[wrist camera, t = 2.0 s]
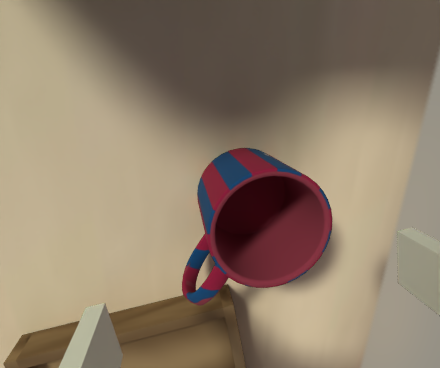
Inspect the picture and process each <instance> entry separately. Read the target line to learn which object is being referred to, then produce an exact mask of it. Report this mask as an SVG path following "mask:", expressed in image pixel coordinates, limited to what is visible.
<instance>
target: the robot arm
mask: <svg viewBox="0 0 440 368" xmlns="http://www.w3.org/2000/svg"><path fill="white" fill-rule="evenodd" d="M397 246H398V247H397V256H398V283H399V284H400V285H401V286H402V287H404V288H405V289H406V290H407V291H409V292H410V293H411V294H412V295H414V296H415V297H416V298H418V299H419V300H420V301H421V302H423V303H424V304H425V305H426V306H428V307H429V308H430V309H432V310H433V311H434V312H436V313H437V314H438V315H439V316H440V241H439V240H437V239H435V238H433V237H431V236H429V235H427V234H424V233H423V232H421V231H419V230H417V229H415V228H413V227H412V228H408V229H404V230H400V231H397ZM122 358H123V354H122V351H121V348H120V345H119V342H118V339H117V336H116V333H115V330H114V327H113V325H112V322H111V319H110V316H109V313H108V310H107V307H106V304H105V303H102V304H98V305H94V306H89V307H86V309H85V311H84V313H83V315H82V317H81V320H80V322H79V324H78V326H77V328H76V331H75V333H74V335H73V337H72V339H71V342H70V344H69V346H68V348H67V350H66V352H65V355H64V357H63V359H62V361H61V363H60V366H59V368H120V367H121V362H122Z"/></svg>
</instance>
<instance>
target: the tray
mask: <svg viewBox="0 0 440 368" xmlns="http://www.w3.org/2000/svg"><path fill="white" fill-rule="evenodd" d="M109 316H110V319H111V322H112V325H113V327H114V330H115V333H116V336H117V339H118V342H119V345H120V348H121V351H122V354H123V358H122V362H121V367H120V368H246V365H245V360H244V355H243V350H242V345H241V340H240V335H239V330H238V325H237V319H236V314H235V309H234V305H233V301H232V297H231V294H230V290H229V287H228V285H223V287H222V288H221V290H220V291H219V292H218V293H217V294H216V296H215V297H214V298H212V299H211V300H210V301H209V302H207V303H206V304H204V305H200V306H198V305H196V304H193V303H191V302H190V301H188V300H187V299H186V298H185V296H184V295H183V296H179V297H175V298H171V299H167V300H163V301H159V302H155V303H151V304H147V305H143V306H139V307H135V308H130V309H126V310H122V311H118V312H114V313H110V314H109ZM79 322H80V321H78V322H74V323H70V324H66V325H62V326H58V327H54V328H50V329H46V330H41V331H37V332H33V333H29V334H25V335H22V336H21V338H20V339H19V341H18V342H17V344H16V345H15V347H14V349H13V350H12V352H11V353H10V355H9V356H8V358H7V359H6V361H5V362H4V366H5V368H59V366H60V363H61V361H62V359H63V357H64V355H65V352H66V350H67V348H68V346H69V344H70V342H71V339H72V337H73V335H74V333H75V331H76V328H77V326H78V324H79Z"/></svg>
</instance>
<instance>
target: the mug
mask: <svg viewBox="0 0 440 368" xmlns="http://www.w3.org/2000/svg"><path fill="white" fill-rule="evenodd" d="M197 195H198V204H199V208H200V213H201V217H202V221H203V226H204V230H205V234H204V236H203V237H202V239H201V240H200V242H199V243H198V245H197V246H196V248H195V249H194V251H193V253H192V255H191V256H190V258H189V260H188V263H187V265H186V268H185V271H184V274H183V281H182V291H183V295H184V296H185V298H186V299H187V300H188V301H190V302H191V303H193V304H196V305H198V306H200V305H204V304H206V303H207V302H209V301H210V300H211V299H212V298H214V297H215V296H216V294H217V293H218V292H219V291H220V290H221V288H222V287H223V285H224V284H225V283H226V281H227V279H228V278H230V279H232V280H234V281H236V282H237V283H240V284H243V285H246V286H250V287H256V288H268V287H275V286H279V285H283V284H286V283H289V282H291V281H293V280H295V279H297V278H298V277H300V276H301V275H303V274H304V273H306V272H307V271H308V270H309V269H310V268H311V267H313V266H314V264H315V263H316V262H317V261H318V260H319V258H320V257H321V255H322V254H323V252H324V250H325V249H326V246H327V244H328V241H329V239H330V234H331V230H332V213H331V208H330V205H329V202H328V199H327V197H326V195H325V194H324V192H323V190H322V189H321V188H320V187H319V186H318V185H317V183H315V182H314V181H313V180H312V179H310V178H309V177H308V176H306V175H304V174H302V173H300V172H299V171H297V170H295V169H293V168H291V167H290V166H288V165H286V164H284V163H282V162H281V161H279V160H277V159H275V158H273V157H272V156H270V155H268V154H266V153H264V152H262V151H259V150H256V149H250V148H240V149H234V150H230V151H228V152H225V153H223V154H221V155H220V156H218V157H217V158H215V159H214V160H213V161H212V162H211V163H210V164H209V165H208V167H207V168H206V169H205V171H204V172H203V174H202V176H201V179H200V182H199V185H198V193H197ZM209 252H210V254H211V256H212V258H213V260H214V262H215V265H214V267H213V269H212V271H211V273H210V275H209V276H208V278H207V279H206V281H205V282H204V283H203V284H202V286H201V287H200V288H199V289H198V290H197V291H196V280H197V276H198V273H199V270H200V268H201V266H202V264H203V262H204V260H205V258H206V257H207V255H208V254H209Z"/></svg>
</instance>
